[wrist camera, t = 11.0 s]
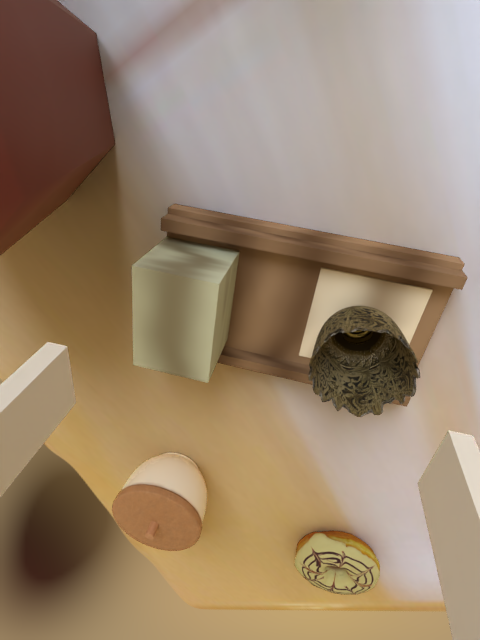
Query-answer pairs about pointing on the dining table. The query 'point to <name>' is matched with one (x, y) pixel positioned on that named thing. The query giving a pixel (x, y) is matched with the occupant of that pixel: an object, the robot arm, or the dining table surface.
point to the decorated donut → (337, 562)
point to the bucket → (47, 111)
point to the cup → (362, 361)
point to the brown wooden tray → (271, 293)
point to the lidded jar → (163, 502)
